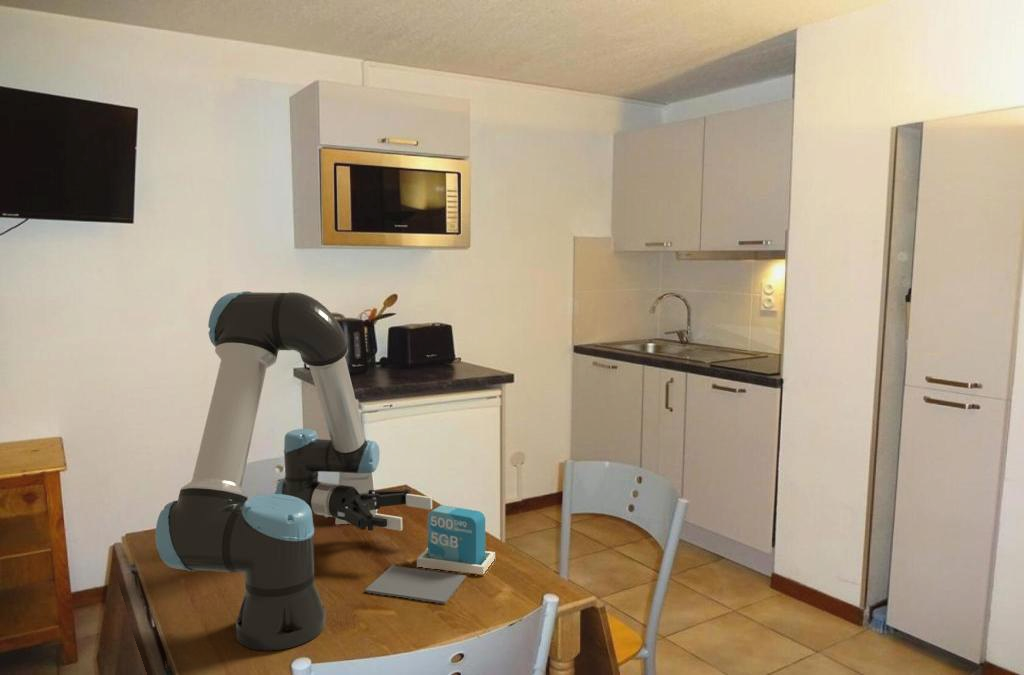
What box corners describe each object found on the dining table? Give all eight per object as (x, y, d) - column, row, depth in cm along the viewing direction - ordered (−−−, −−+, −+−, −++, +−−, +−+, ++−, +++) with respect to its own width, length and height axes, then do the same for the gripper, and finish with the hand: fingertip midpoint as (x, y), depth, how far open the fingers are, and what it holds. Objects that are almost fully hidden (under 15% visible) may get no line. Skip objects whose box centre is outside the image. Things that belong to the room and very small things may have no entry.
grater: (335, 525, 177) (333, 447, 175) (336, 511, 187) (335, 437, 185) (377, 522, 179) (376, 445, 177) (377, 508, 189) (376, 435, 187)
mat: (445, 604, 136) (445, 601, 136) (365, 592, 141) (365, 589, 141) (466, 578, 147) (466, 575, 147) (391, 568, 152) (391, 565, 152)
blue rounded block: (427, 563, 155) (427, 510, 154) (438, 555, 159) (437, 503, 158) (475, 573, 150) (475, 518, 149) (485, 565, 154) (485, 511, 153)
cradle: (483, 576, 148) (483, 567, 148) (416, 567, 153) (416, 558, 152) (495, 560, 156) (495, 552, 156) (431, 552, 160) (431, 544, 160)
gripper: (366, 499, 177) (442, 510, 169) (303, 536, 154) (387, 551, 146) (365, 470, 176) (442, 480, 168) (301, 502, 153) (387, 516, 145)
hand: (417, 513), depth 157 cm, fingers open, 13 cm apart
